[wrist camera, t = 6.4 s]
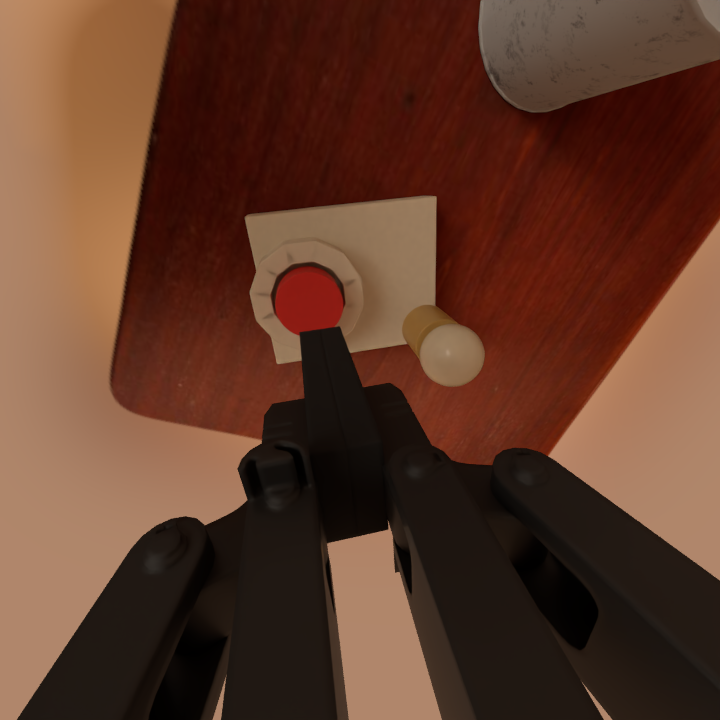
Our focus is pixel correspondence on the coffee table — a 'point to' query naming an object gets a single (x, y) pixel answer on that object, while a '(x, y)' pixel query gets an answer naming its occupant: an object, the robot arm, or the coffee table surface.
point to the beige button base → (349, 265)
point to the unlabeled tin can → (590, 45)
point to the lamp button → (308, 300)
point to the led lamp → (443, 346)
